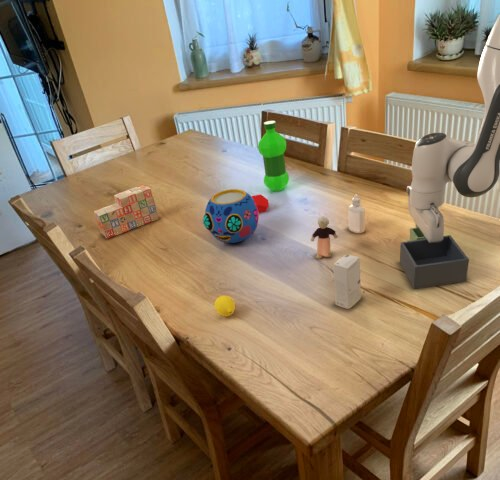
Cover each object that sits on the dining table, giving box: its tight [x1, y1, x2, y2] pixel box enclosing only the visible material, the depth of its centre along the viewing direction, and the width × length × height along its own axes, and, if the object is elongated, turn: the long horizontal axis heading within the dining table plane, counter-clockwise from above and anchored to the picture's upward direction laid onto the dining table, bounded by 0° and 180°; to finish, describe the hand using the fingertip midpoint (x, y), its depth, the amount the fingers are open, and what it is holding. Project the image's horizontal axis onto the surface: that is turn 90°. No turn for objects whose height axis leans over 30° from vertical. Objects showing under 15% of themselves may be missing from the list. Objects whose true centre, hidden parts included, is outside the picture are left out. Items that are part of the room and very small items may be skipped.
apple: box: [250, 194, 270, 214], centre depth 179 cm, size 7×7×8 cm
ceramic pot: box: [202, 188, 260, 244], centre depth 162 cm, size 18×18×15 cm
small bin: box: [408, 227, 426, 241], centre depth 143 cm, size 6×6×5 cm
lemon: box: [213, 295, 236, 317], centre depth 131 cm, size 7×5×5 cm
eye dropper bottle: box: [347, 193, 366, 234], centre depth 154 cm, size 4×6×12 cm
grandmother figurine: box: [310, 216, 338, 259], centre depth 145 cm, size 8×4×13 cm, turn 99°
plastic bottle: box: [257, 120, 290, 192], centre depth 187 cm, size 10×10×25 cm
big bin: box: [399, 235, 470, 290], centre depth 132 cm, size 13×13×7 cm
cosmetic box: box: [332, 253, 362, 310], centre depth 125 cm, size 6×4×12 cm
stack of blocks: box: [93, 184, 160, 239], centre depth 183 cm, size 21×6×12 cm, turn 123°
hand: (423, 242), depth 143 cm, fingers closed on small bin, 6 cm apart
